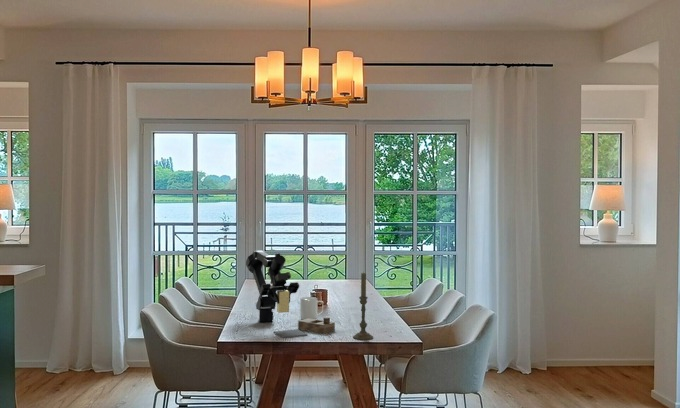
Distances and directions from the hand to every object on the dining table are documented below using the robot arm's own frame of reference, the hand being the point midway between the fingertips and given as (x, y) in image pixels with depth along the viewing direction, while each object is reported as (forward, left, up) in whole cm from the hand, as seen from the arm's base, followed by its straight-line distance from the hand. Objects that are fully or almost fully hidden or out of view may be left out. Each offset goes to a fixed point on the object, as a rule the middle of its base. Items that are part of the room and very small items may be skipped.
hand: (284, 302), depth 291 cm
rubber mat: (+2, -8, -13) cm, 15 cm away
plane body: (+16, -1, -13) cm, 20 cm away
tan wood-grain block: (0, +1, -5) cm, 5 cm away
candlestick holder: (+34, -21, -13) cm, 42 cm away
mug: (+18, +24, -13) cm, 33 cm away
